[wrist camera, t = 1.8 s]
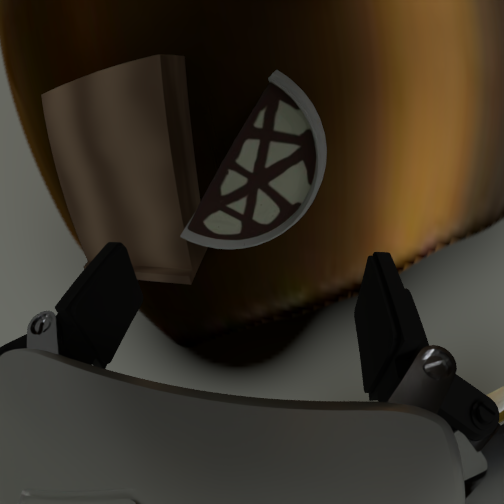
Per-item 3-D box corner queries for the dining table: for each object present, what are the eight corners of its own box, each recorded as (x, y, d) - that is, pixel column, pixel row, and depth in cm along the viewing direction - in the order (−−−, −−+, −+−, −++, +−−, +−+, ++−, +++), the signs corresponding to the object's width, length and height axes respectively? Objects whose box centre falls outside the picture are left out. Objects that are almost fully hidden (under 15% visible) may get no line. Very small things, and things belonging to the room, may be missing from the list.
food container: (269, 215, 28) (256, 285, 20) (214, 184, 27) (177, 242, 19) (344, 111, 21) (376, 136, 13) (282, 71, 20) (274, 68, 12)
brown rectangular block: (184, 56, 20) (153, 54, 15) (207, 248, 31) (191, 284, 26) (73, 86, 21) (34, 97, 16) (111, 243, 33) (86, 273, 28)
